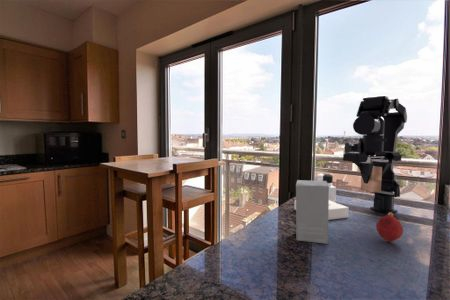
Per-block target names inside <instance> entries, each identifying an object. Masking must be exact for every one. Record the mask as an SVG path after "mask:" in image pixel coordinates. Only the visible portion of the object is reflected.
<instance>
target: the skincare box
mask: <svg viewBox="0 0 450 300" xmlns="http://www.w3.org/2000/svg"><path fill="white" fill-rule="evenodd" d="M295 200H296V210H295V217H296V218H295V220H296V221H295V222H296V223H295V232H296V233H295V234H296V235H295V236H296V238H295V239H296V241H298V242H300V241H301V242H308V243H319V244H325V245H328V244H329V220H328V211H329V186H328V184H327V181H317V180H305V179H304V180H302V179H301V180H300V179H297V180H296V183H295Z"/></svg>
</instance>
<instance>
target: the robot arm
mask: <svg viewBox="0 0 450 300" xmlns="http://www.w3.org/2000/svg"><path fill="white" fill-rule="evenodd" d="M399 101H400V100H399V98H398V97H389V96H388V95H386V94H382V95H373V96H363V98H362V100H361V101H360V103H359V106H358V110H357V112H356V117H357V118H356V119H354V122H353V124H352V127H353V128H352V129H353V131H354V132H355V133H356V134H358V135H362V137H359V139H358V143H353V142H351V141H350V142H346V143H345V142H344V153H343V154H342V156H343V157H342V158H343V159H342V161H344V162H352V164H354V165H356V166H357V168H358V169H359V173H360V176H361V175H362V178H363V181H364V183H366V184H367V183H368V181H369V179H370V175H371V172H372V168H373V166H378V167H382V180H381V192H372V193H371V192H369V193H370V194H374V197H373V204H372V205H373V206H370V209H371V210H373V211H374V210H375V211H376V212H380V213H383V214H388V213H398V210H397V209H395V208H394V207H395V198H400V197H401V187H400V184H399V180H398V177H397V175H396V174H395V171H394V164H395V162H402V154H401V153H400V152H397V151H396V150H397V143H398V137H399V136H398V135H399V134H400V132H402V130H403V129H404V128H405V123H407V121H408V115H407V108H406V107H405V106H404V105H402V103H400V102H399ZM392 109H394V111H393V110H392ZM391 110H392V111H391Z"/></svg>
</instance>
